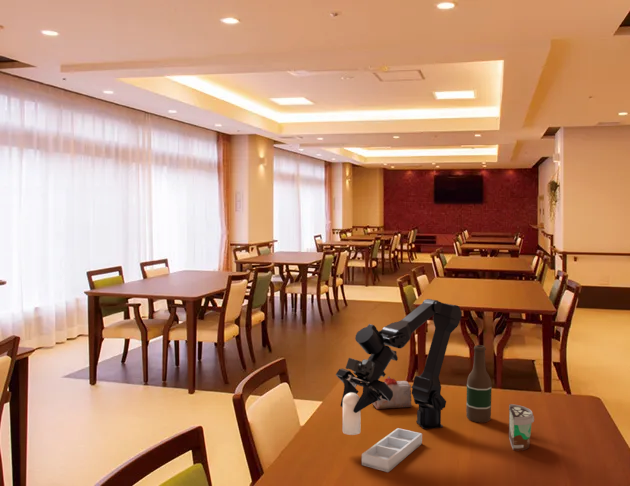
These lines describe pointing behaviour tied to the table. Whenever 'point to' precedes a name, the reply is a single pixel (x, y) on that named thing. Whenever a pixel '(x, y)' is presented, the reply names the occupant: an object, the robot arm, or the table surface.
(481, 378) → the beer bottle
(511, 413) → the food container
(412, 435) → the white compartment tray
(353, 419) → the cream tall rounded piece
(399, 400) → the food item
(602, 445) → the table surface
